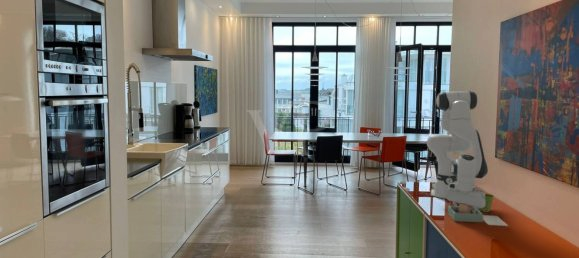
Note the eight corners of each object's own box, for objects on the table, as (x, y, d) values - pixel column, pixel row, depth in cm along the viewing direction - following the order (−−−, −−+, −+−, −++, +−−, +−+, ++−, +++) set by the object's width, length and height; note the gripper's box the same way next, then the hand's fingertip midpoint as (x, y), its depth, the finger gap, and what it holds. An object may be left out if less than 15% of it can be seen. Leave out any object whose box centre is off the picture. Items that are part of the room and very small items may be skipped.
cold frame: (447, 212, 228) (448, 205, 227) (474, 214, 226) (475, 206, 225) (453, 220, 214) (454, 213, 214) (482, 222, 212) (483, 214, 212)
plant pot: (495, 213, 227) (496, 197, 226) (477, 212, 229) (477, 197, 228) (491, 208, 236) (491, 193, 235) (473, 207, 238) (473, 192, 237)
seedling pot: (457, 215, 223) (457, 201, 223) (469, 216, 222) (469, 202, 222) (460, 218, 217) (460, 204, 217) (472, 219, 216) (473, 205, 216)
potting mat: (479, 215, 223) (479, 215, 223) (496, 216, 222) (496, 215, 222) (488, 224, 208) (488, 224, 208) (507, 225, 206) (507, 225, 206)
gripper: (488, 189, 212) (487, 216, 213) (452, 182, 228) (451, 206, 230) (482, 191, 208) (480, 218, 209) (445, 183, 224) (444, 208, 226)
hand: (464, 212), depth 220 cm, fingers open, 8 cm apart
